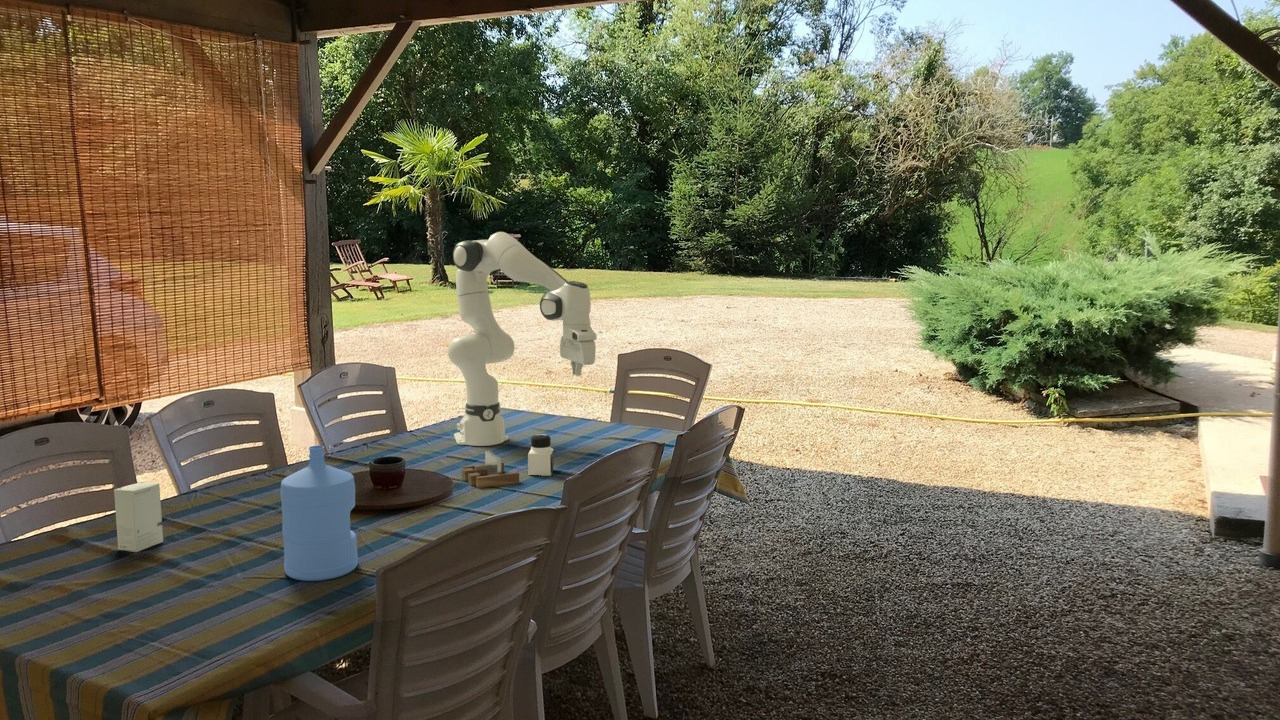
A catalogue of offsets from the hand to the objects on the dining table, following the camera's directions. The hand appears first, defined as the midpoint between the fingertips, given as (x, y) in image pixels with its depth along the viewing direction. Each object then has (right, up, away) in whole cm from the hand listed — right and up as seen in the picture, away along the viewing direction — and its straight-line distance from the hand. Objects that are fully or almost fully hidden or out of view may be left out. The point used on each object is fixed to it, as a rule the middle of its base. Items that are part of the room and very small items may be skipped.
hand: (576, 375), depth 294 cm
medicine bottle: (-11, -31, -8) cm, 33 cm away
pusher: (-27, -31, -16) cm, 44 cm away
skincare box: (-99, -40, -75) cm, 131 cm away
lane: (-25, -32, -16) cm, 43 cm away
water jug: (-51, -42, -89) cm, 111 cm away
